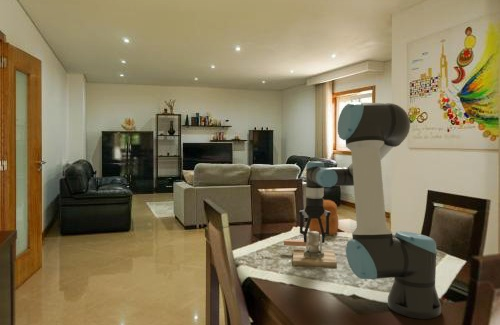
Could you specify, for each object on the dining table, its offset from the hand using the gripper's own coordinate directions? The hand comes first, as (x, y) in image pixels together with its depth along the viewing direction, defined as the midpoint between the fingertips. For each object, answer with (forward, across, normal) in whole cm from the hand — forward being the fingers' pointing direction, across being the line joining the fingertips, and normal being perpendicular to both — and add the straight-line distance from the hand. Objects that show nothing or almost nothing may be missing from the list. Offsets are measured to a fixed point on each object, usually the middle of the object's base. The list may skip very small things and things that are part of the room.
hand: (314, 249), depth 166 cm
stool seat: (+4, 0, 0) cm, 4 cm away
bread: (+5, -8, -57) cm, 58 cm away
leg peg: (+2, 0, 0) cm, 2 cm away
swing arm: (0, +6, -8) cm, 10 cm away
